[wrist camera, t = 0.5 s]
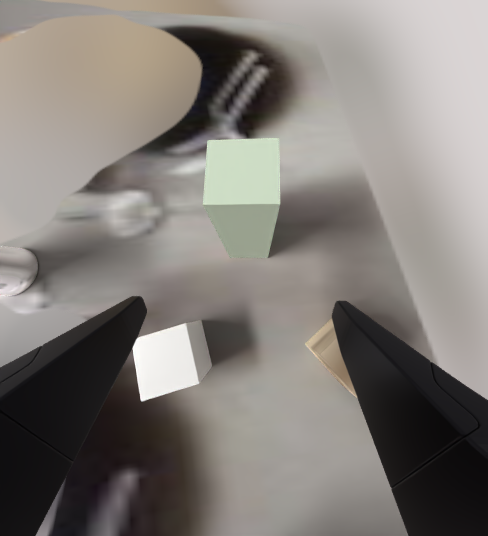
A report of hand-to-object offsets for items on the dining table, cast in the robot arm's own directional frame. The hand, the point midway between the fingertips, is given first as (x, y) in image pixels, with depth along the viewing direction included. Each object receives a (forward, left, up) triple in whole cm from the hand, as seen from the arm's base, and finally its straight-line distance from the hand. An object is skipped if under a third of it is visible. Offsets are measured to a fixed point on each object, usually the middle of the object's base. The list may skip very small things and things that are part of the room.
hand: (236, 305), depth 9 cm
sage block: (+7, -4, -13) cm, 15 cm away
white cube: (-1, +8, -13) cm, 16 cm away
